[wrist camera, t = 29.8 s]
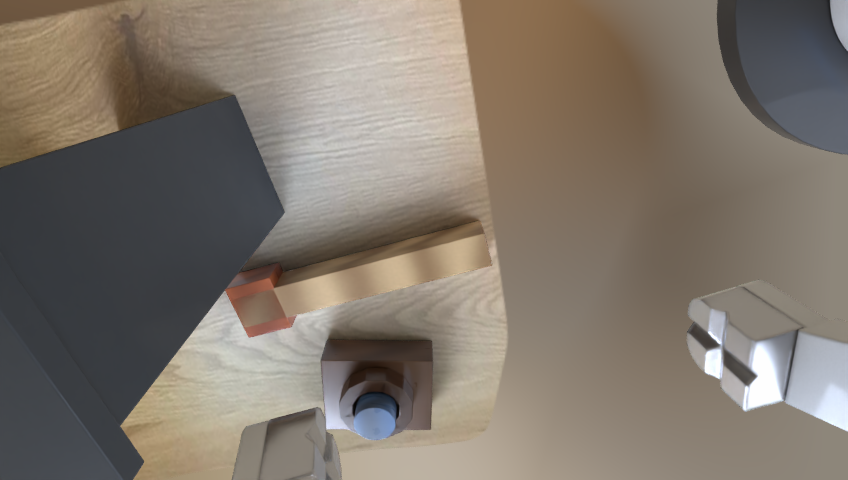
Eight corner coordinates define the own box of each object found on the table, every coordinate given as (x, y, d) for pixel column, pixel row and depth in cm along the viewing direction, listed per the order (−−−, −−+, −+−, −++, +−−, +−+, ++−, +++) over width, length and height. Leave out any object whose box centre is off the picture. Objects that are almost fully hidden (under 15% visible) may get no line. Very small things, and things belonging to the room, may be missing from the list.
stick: (477, 209, 41) (481, 221, 38) (490, 260, 43) (495, 276, 40) (236, 273, 43) (224, 289, 40) (259, 319, 45) (248, 338, 42)
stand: (233, 73, 36) (-125, 140, 13) (297, 227, 41) (128, 488, 17) (102, 114, 38) (-456, 249, 14) (180, 259, 42) (-131, 547, 18)
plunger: (396, 391, 42) (395, 407, 41) (396, 423, 44) (395, 440, 42) (355, 390, 42) (352, 407, 41) (356, 422, 44) (354, 440, 42)
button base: (432, 340, 46) (433, 374, 41) (430, 406, 49) (431, 445, 44) (326, 339, 46) (316, 373, 41) (331, 405, 49) (322, 444, 44)
